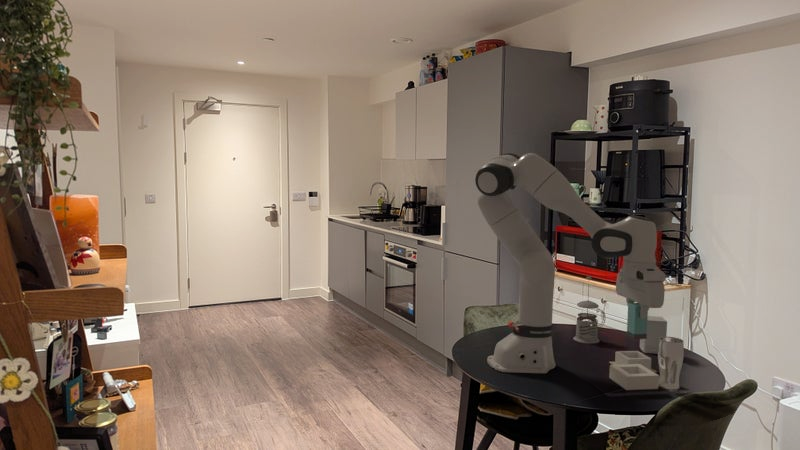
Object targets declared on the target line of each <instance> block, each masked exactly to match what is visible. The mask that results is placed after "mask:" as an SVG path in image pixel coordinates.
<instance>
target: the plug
mask: <svg viewBox="0 0 800 450" xmlns="http://www.w3.org/2000/svg"><path fill="white" fill-rule="evenodd" d="M640 310H641V307H640V303H637V302H634V303H628V305H627V322H626V336H627V337H629V338H631V339H632V340H640V339H647V318H648V316H649V314H648V313H649V311H648V312H647V317H646V319H641V318H639V317H638V312H640Z"/></svg>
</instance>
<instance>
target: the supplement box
mask: <svg viewBox="0 0 800 450" xmlns="http://www.w3.org/2000/svg"><path fill="white" fill-rule="evenodd" d="M667 330H668V321H667V320H666V319H665V318H664V317H663V316H651V315H648V318H647V339H639V348H640V350H641V351H642V353H643V354H644V353H645V354H655V355H656V354H657V355H658V345H659V338H660V337H667V332H668V331H667Z"/></svg>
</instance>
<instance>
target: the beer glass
mask: <svg viewBox="0 0 800 450" xmlns="http://www.w3.org/2000/svg"><path fill="white" fill-rule="evenodd" d="M684 346H685V344H684V340H683V339H682V338H679V337H673V336H666V337H660V338H659V345H658V354H657V362H658V369H659V371H658V372H659V383H658V387H660V388H662V389H666V390H664V392H669V393H677V392H680V373H681V371H682V366H683V363H684V362H683V361H684V357H685V356H684V354H685V351H684V350H685V347H684Z"/></svg>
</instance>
